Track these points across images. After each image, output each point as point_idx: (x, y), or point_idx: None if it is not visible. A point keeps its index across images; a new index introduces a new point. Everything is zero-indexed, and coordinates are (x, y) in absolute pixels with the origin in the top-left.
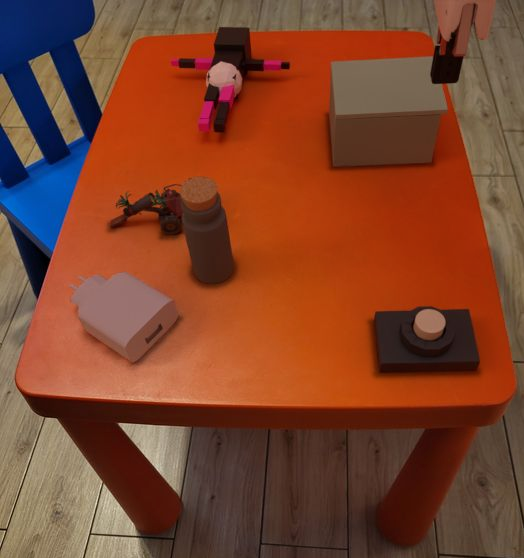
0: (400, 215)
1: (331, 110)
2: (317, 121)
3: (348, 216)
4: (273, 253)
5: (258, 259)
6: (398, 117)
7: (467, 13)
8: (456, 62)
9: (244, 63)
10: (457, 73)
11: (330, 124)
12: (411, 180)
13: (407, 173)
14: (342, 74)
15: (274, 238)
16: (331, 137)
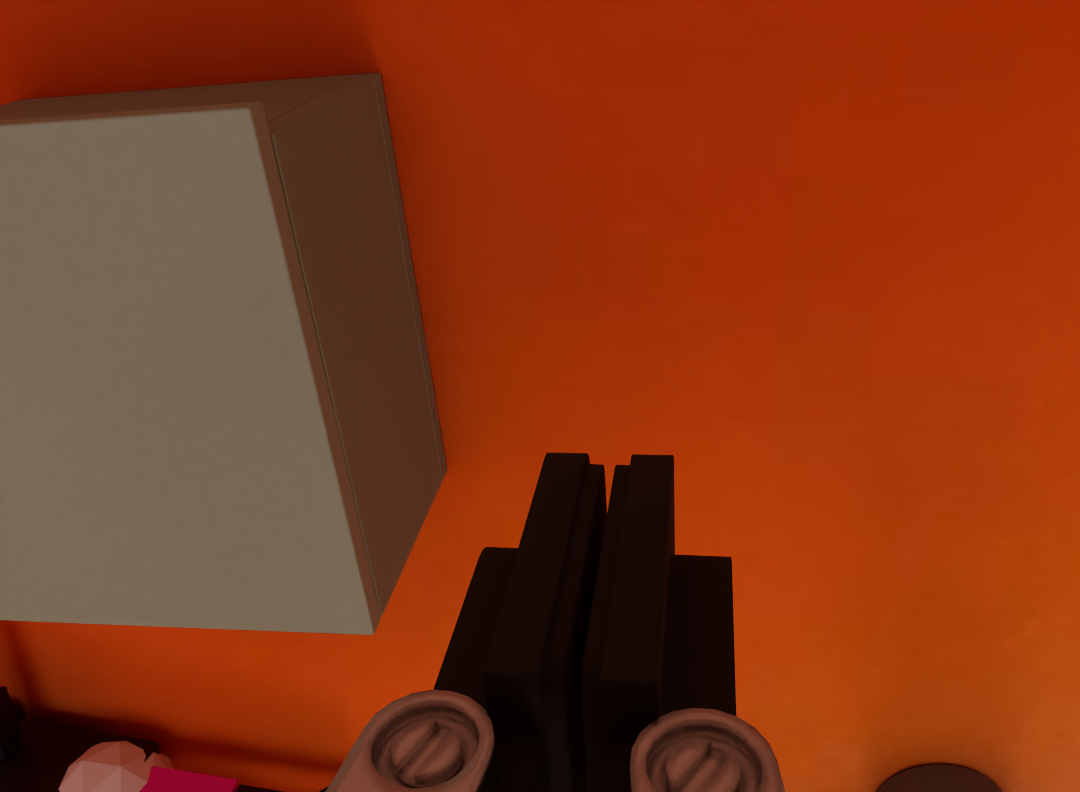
0: (731, 235)
1: None
2: None
3: (726, 432)
4: (894, 663)
5: (916, 702)
6: (324, 359)
7: None
8: (734, 689)
9: (3, 756)
10: (669, 524)
11: None
12: (506, 173)
13: (462, 188)
14: (78, 587)
15: (821, 658)
16: None
